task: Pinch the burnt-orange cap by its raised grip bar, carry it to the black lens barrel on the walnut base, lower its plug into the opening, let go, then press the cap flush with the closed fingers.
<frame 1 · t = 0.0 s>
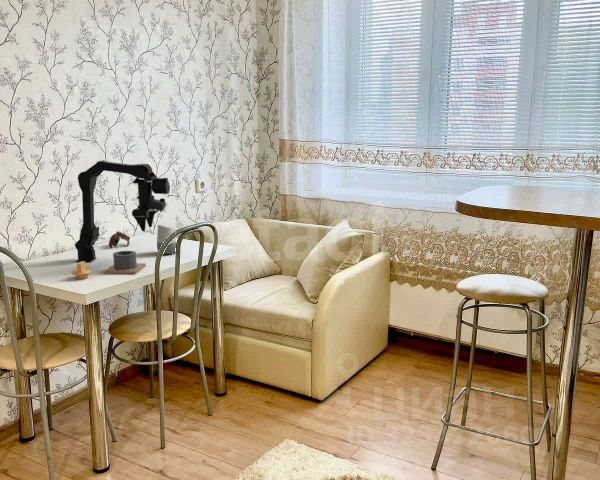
hand: (147, 229, 259), 15 cm above the table, tool pointing down, fingers open, 9 cm apart
smart speaker: (167, 253, 278), on the table
orange cap: (82, 277, 237), on the table
lens barrel: (125, 269, 249), on the table
brown curved piece: (118, 247, 292), on the table
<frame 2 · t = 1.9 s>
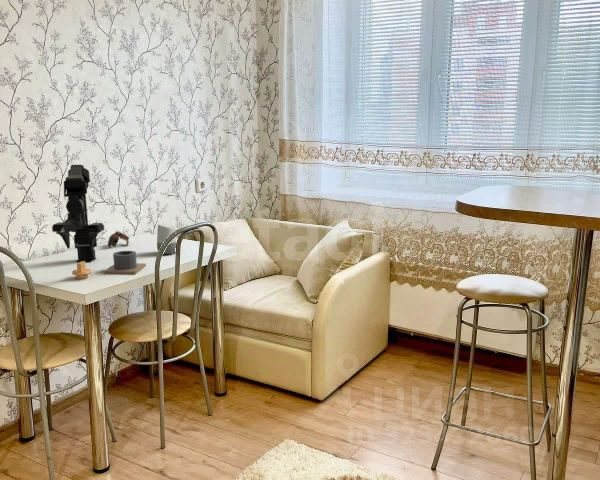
hand: (79, 248, 235), 12 cm above the table, tool pointing down, fingers open, 9 cm apart
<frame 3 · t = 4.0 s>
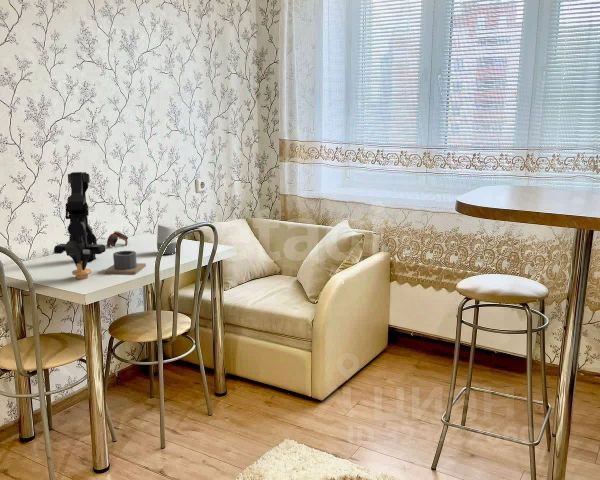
hand: (81, 269, 237), 3 cm above the table, tool pointing down, fingers closed on orange cap
orange cap: (82, 277, 237), on the table, touching gripper
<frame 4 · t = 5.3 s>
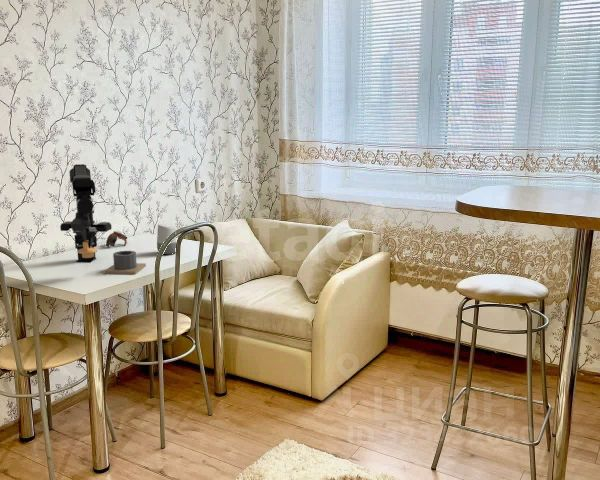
hand: (87, 247, 237), 12 cm above the table, tool pointing down, fingers closed on orange cap
orange cap: (88, 256, 238), point 8 cm above the table, touching gripper
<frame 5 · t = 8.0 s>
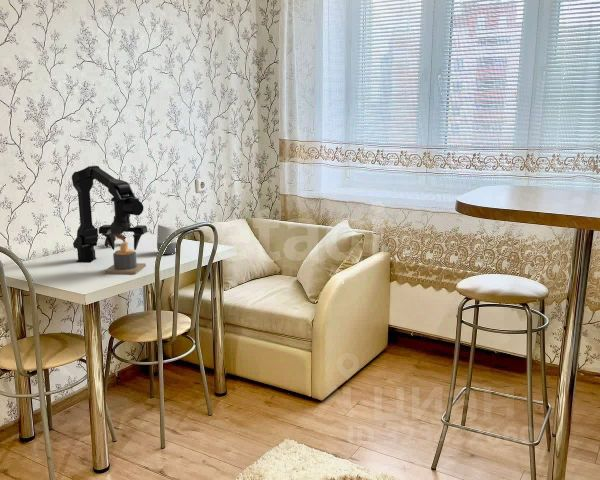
hand: (124, 249, 247), 9 cm above the table, tool pointing down, fingers open, 9 cm apart
orange cap: (124, 257, 248), point 5 cm above the table, touching lens barrel
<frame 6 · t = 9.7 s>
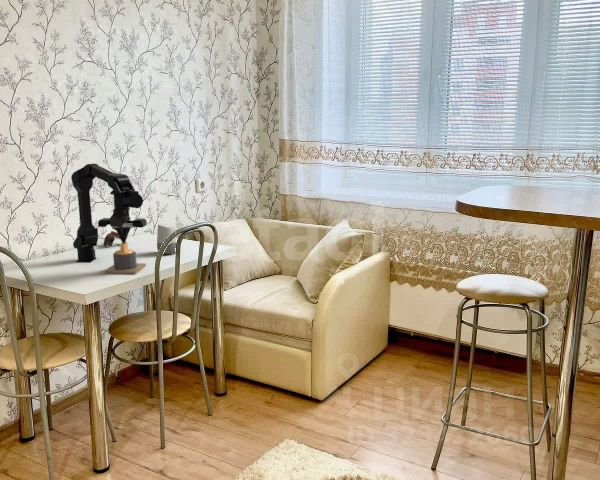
hand: (123, 243, 247), 11 cm above the table, tool pointing down, fingers closed, pressing on orange cap
orange cap: (124, 257, 248), point 5 cm above the table, touching gripper, lens barrel
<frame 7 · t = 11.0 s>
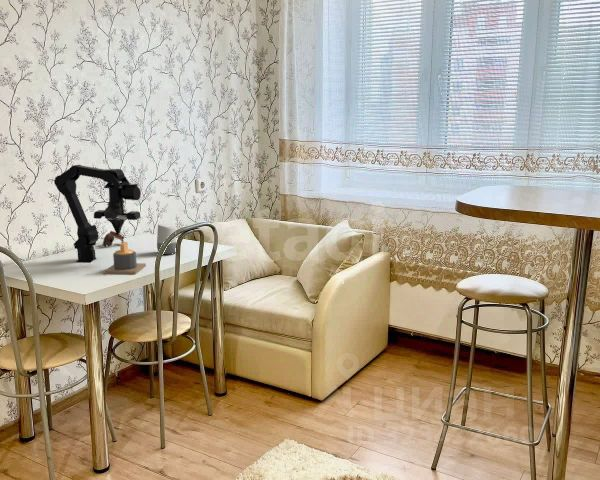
hand: (118, 234, 257), 13 cm above the table, tool pointing down, fingers closed
orange cap: (124, 257, 248), point 5 cm above the table, touching lens barrel
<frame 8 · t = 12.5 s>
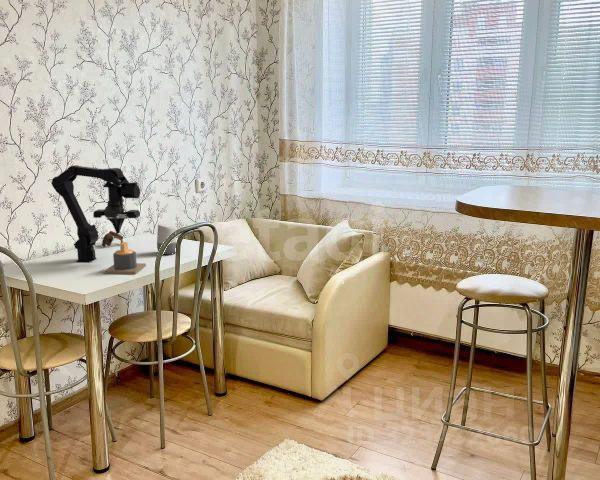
hand: (118, 233, 259), 13 cm above the table, tool pointing down, fingers closed
at the end: orange cap 0.1 cm off-centre on the lens barrel, point 5.2 cm above the lens barrel's base; orange cap tilted 0°; the gripper is holding nothing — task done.
